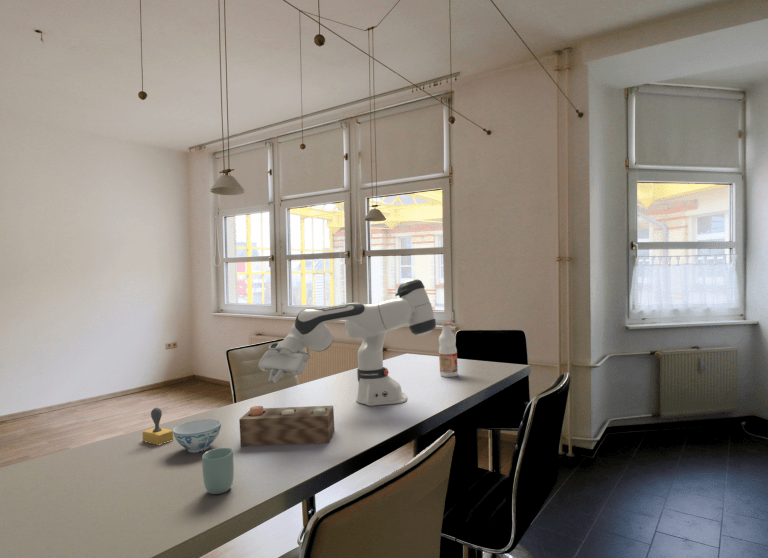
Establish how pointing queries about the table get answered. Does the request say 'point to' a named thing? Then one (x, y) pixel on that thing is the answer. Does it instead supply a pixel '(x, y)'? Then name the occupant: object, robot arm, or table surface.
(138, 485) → the table surface
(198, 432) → the chinaware
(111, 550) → the table surface
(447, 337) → the fruit juice
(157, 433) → the rubber stamp
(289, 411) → the cream button
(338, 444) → the table surface
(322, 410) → the sage button
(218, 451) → the cup
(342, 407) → the table surface
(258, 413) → the terracotta button
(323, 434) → the console
